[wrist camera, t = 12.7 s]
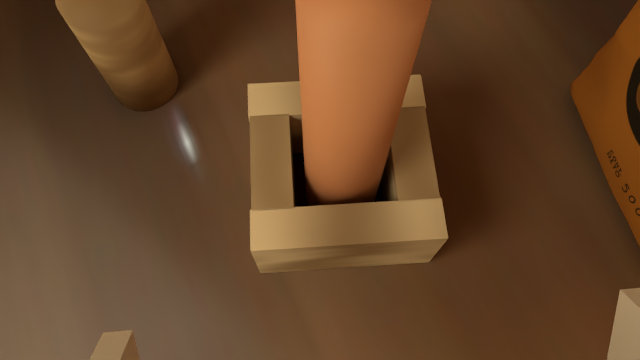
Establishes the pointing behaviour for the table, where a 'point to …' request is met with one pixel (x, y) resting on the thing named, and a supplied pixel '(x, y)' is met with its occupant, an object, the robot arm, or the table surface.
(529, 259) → the table surface
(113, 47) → the short dowel
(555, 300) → the table surface
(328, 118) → the long dowel
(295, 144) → the collar block
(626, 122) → the coffee package
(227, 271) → the table surface
